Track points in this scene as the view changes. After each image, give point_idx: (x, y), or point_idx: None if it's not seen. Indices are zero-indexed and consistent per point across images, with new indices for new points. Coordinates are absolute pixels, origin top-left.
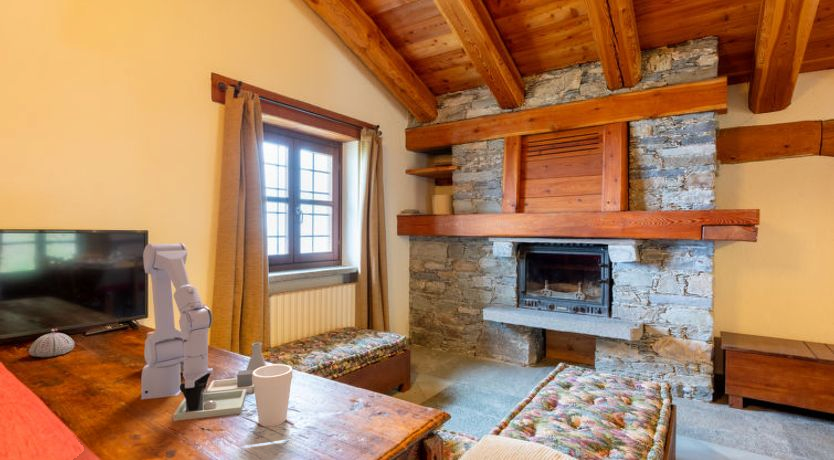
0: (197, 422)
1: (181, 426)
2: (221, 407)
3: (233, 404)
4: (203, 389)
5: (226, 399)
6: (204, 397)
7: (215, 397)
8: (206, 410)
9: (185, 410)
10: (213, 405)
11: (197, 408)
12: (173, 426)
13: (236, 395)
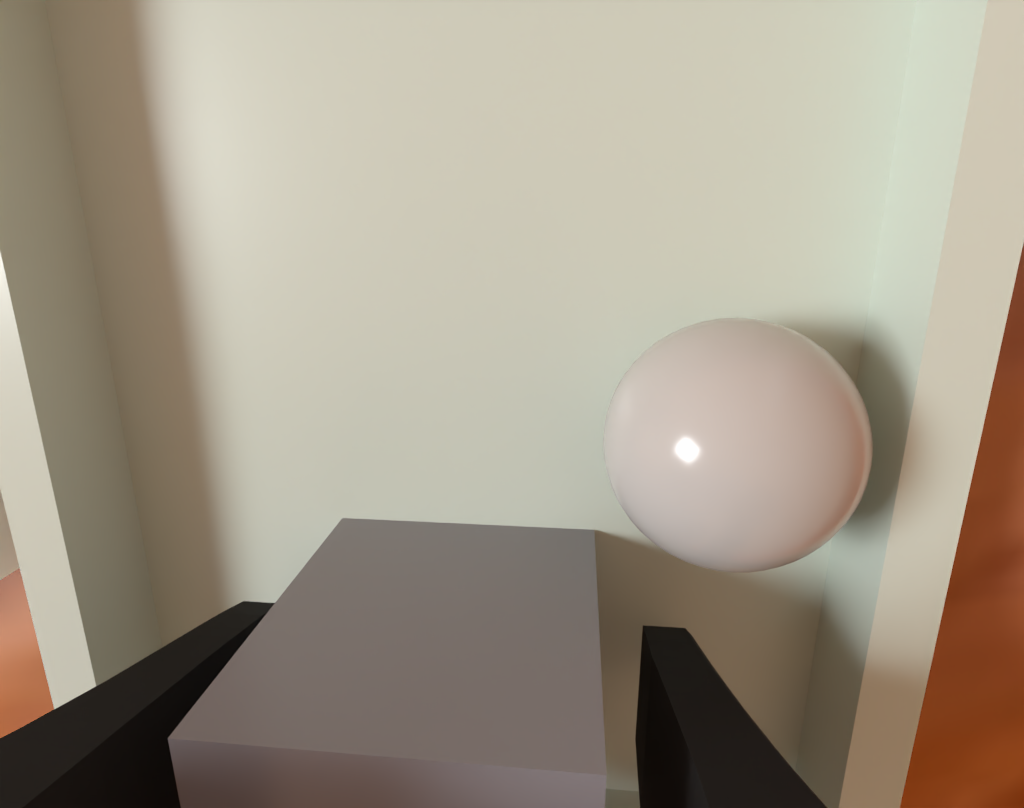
0: (961, 536)
1: (997, 718)
2: (555, 234)
3: (467, 1)
4: (270, 782)
5: (188, 199)
6: (418, 627)
7: (104, 411)
8: (936, 481)
9: None
10: (838, 375)
11: (694, 643)
12: (940, 803)
13: (35, 6)
